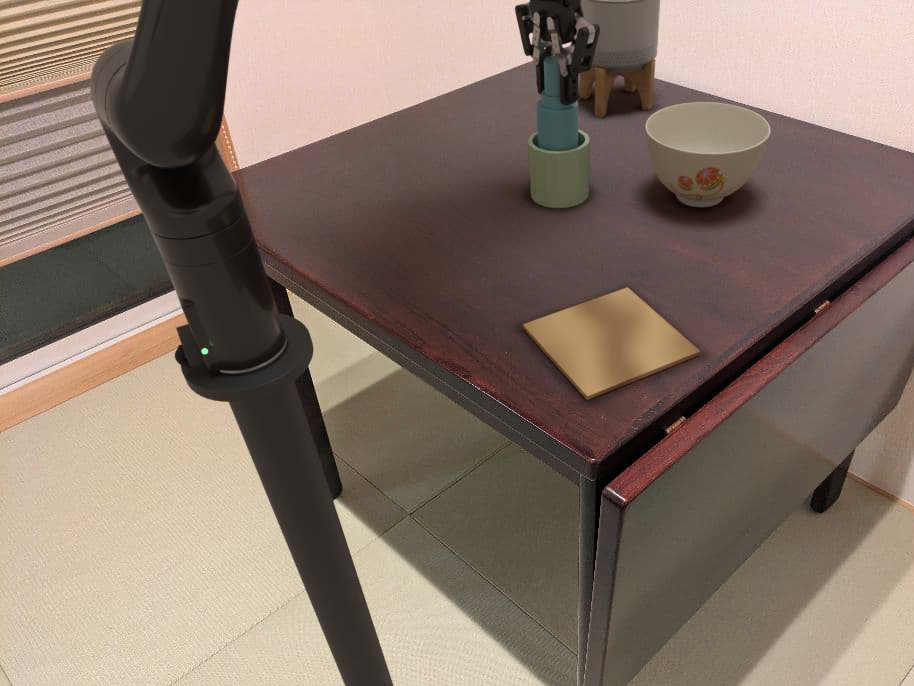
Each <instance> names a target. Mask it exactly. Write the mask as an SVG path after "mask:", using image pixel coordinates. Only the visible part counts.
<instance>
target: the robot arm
mask: <svg viewBox="0 0 914 686" xmlns="http://www.w3.org/2000/svg"><path fill="white" fill-rule="evenodd" d="M239 3H240V0H141V5H140V8H139V9H140V10H139V14H138V18H137V23H136V27H135V31H134V35H133V38H131V39H124V40H121V41H118V42H116V43H114V44H111V45H110V46H108V47H107V48H106V49H104V50H103V52H102V53H101V54H100V55H99V56H98V57H97V59H96V60H95V63H94V64H93V67H92V70H91V74H90V79H89V80H90V81H89V82H90V83H89V87H90V88H89V89H90V90H89V91H90V96H91V101H92V104H93V105H92V106H93V108H94V111H95V113H96V115H97V118H98V121H99V123H100V126H101V127H102V130H103V132H104V134H105V137H106V139H107V141H108V144H109V146H110V148H111V150H112V153H113V155H114V157H115V160H116V162H117V164H118V166H119V168H120V171H121V173H122V176H123V177H124V180H125V182H126V184H127V187H128V189H129V191H130V193H131V195H132V197H133V198H134V200H135V202H136V204H137V205H138V207H139V210H140V211H141V214H142V215H143V217H144V219H145V222H146V224H147V226H148V229H149V230H150V233H151V235H152V238H153V240H154V242H155V245H156V247H157V250H158V252H159V254H160V257H161V260H162V262H163V264H164V267H165V269H166V272H167V274H168V276H169V278H170V281H171V284H172V286H173V288H174V291H175V293H176V296H177V299H178V301H179V304H180V307H181V310H182V312H183V314H184V316H185V319H186V321H187V324H186V323H185V324H184V325H180V326H177V327H175V329H176V332H177V336H178V339H179V341H180V344H179V345H178V347H177V348H176V350H175V352H174V359H175V361H176V363H178V365H180V366H181V365H182V366H184V367H186V368H188V369H190V368H191V367H192V366H195V365H198V364H201V363H205V365H206V367H207V369H208V372H209V374H210V377H216V376H220V375H226V376H240V375H247V374H251V373H254V372H257V371H260V370H263V369H265V368H267V367H269V366H270V365H272V364H273V363H275V362H276V361H277V360H279V359H280V358H281V357H282V355H283V354H284V353H285V351H286V349H287V346H288V338H287V335H286V332H285V331H284V327H283V324H282V322H281V319H280V316H279V309H278V307H277V304H276V301H275V298H274V294H273V291H272V288H271V285H270V281H269V279H268V275H267V272H266V269H265V266H264V263H263V260H262V257H261V253H260V251H259V247H258V244H257V241H256V238H255V235H254V231H253V228H252V225H251V223H250V219H249V216H248V213H247V210H246V207H245V204H244V200H243V197H242V194H241V191H240V188H239V186H238V183H237V181H236V180H235V178H234V176H233V174H232V173H231V171H230V169H229V168H228V165H227V164H226V162H225V160H224V158H223V156H222V154H221V151H220V150H219V147H218V144H217V142H216V141H217V139H218V136H219V134H220V132H221V128H222V124H223V119H224V114H225V113H224V112H225V104H226V97H227V85H228V76H229V66H230V58H231V51H232V42H233V35H234V26H235V21H236V15H237V11H238V7H239ZM514 12H515V17H516V21H517V27H518V30H519V31H518V32H519V35H520V40H521V45H522V50H523V53H524V55H525V56H526V57H531V58H532V63H533V64H534V65H535V76H536V77H535V79H536V81H535V82H536V88H537V93H538V94H539V95H541V96H542V91H543V90H544V89H545V86H544V59H545V58H547V57H550V56H556V57H558V59H559V65H560V71H561V74H562V75H560V102H561V104H563V105H565V106H567V105H570V104H573V103H575V102H576V101H577V102H578V98H579V76H580V73H582V72H585V71H589V70H590V69H591V66H592V62H593V58H594V54H595V50H596V46H597V42H598V38H599V34H600V27H599V25H598V24H593V25H590V24H589V23H588V22H587V21H586V20H585V19H584V14H583V10H582V6H581V0H529V1H527V2H524V3H521V4H517V5H515V7H514ZM530 34H532V35H531V36H532V37H531V38H532V39H530ZM566 44H569V45H568V46H565V47H564V46H563V45H566ZM568 55H570V60H571V61H570V63H569V64H568V59H567V58H568ZM582 59H583V61H582ZM184 355H186V357H187V358H186V357H185V356H184Z"/></svg>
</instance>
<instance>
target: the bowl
mask: <svg viewBox="0 0 914 686" xmlns="http://www.w3.org/2000/svg"><path fill="white" fill-rule="evenodd" d="M644 127H645V136H646V141H647V147H648V154H649V158H650V163H651V166H652V169H653V171H654V173H655V175H656V177H657V178H658V180H659V181H660V183H662V185H663V186H664V187H665V188H666V189H668V190H669V191H670V192H671V193H673V194H675V196H676V198H677V200H678V201H679V202H680V203H681V204H684V205H686V206H689V207H693V208H710V207H714V206H716V205H718V204H719V203H721V202H722V201H723V199H724V198H725V197H727V196H730V195H732V194H734V193H735V192H736V191H738V190H739V189H741V188H742V187H743V186H744V185H745V184H746V183H747V182H748V181H749V180H750V179H751V177H752V175H753V174H754V173H755V170H756V169H757V167H758V165H759V163H760V160H761V158H762V155H763V153H764V150H765V148H766V145H767V143H768V141H769V138H770V136H771V131H772V130H771V126H770V123H769V122H768V121H767V120H766V118H764V116H762V115H760V114H759V113H758V112H756V111H753V110H751V109H749V108H745V107H742V106H739V105H735V104H730V103H723V102H713V101H695V102H694V101H693V102H685V103H678V104H674V105H670V106H667V107H664V108H661V109H659V110H657V111H656V112H654V113H653V114H651V115H650V116H649V117H648V118H647V120H646V122H645V126H644Z"/></svg>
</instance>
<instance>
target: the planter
mask: <svg viewBox="0 0 914 686" xmlns="http://www.w3.org/2000/svg"><path fill="white" fill-rule="evenodd" d="M581 6H582V10H583V14H584V19H585V20H586V21H587V22H588V23H589V24H590V25H593V24H598V25H599V27H600V34H599V38H598V42H597V46H596V50H595V54H594V58H593V62H592V66H591V69H590V70H589V71H585V72H582V73H579V98H580V99H585V100H587V99H589V98H590V97H591V92H592V88H593V85H594V117H599V118H604V117H605V116H606V115H607V107H608V101H609V97H610V93H611V90H612V87H613V86H614V83H615V81H616V80H617V78H618V77H619V76H620V77H622V78H623V81H624V91H625V92H629V93H634V92H635V91H636V90H637V92H638V94H639V97H640V101H641V110H645V111H651V109H653V105H654V91H655V90H654V89H655V73H656V57H657V56H658V47H659V46H658V45H659V29H660V12H661V0H581ZM582 61H583V59H582Z"/></svg>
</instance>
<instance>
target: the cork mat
mask: <svg viewBox="0 0 914 686" xmlns="http://www.w3.org/2000/svg"><path fill="white" fill-rule="evenodd" d="M522 329H523V331H524V332H525V333H526V334H527V335H528V337H530V338H531V339H532V340H533V341H534V343H535V344H536V345H537V346H538V347H539V348H540V349H541V351H542V352H543V353H544V354H545V355H546V356H547V358H549V360H550V361H551V362H552V363H553V364H554V365H555V366H556V367H557V368H558V370H559V371H560V372H561V373H562V375H564V376H565V377H566V379H567V380H568V381H569V382H570V383H571V384H572V386H574V387H575V389H576V390H577V391H578V392H579V393H580V395H582V397H584V399H585V400H586V401H589V400H592V399H594V398H597V397H600V396H601V395H604V394H606V393H609V392H611V391H614V390H617V389H620V388H622V387H624V386H626V385H629V384H632V383H635V382H636V381H639V380H642V379H644V378H646V377H649V376H651V375H654V374H656V373H659V372H661V371H664V370H666V369H670V368H671V367H673V366H676V365H679V364H681V363H684V362H686V361H688V360H691V359H693V358H696V357H699V356H700V354H701V350H700V349H699V348H698V347H697V346H695V345H694V344H693V343H692V342H691V341H689V340H688V339H687V338H686V337H685V336H684V335H682V334H681V333H680V331H678V330H677V329H676V328H675V327H674V326H672V324H670V322H668V321H667V320H666V319H665V318H663V317H662V316H661V315H660V314H659V313H658V312H657V311H655V310H654V309H653V308H652V307H651V306H650V305H648V304H647V303H646V302H645V301H644V300H643V299H642V298H641V297H640V296H638V295H637V294H636V293H635V292H634V291H632V290H631V289H630V288H629V287H627V286H626V287H625V288H622V289H621V288H620V289H618V290H616V291H613V292H610V293H607V294H604V295H602V296H599V297H596V298H593V299H591V300H587V301H585V302H582V303H579V304H576V305H574V306H570V307H568V308H564V309H562V310H559V311H557V312H554V313H551V314H548V315H545V316H542V317H539V318H537V319H533V320H531V321H528V322H525V323H523V324H522Z"/></svg>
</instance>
